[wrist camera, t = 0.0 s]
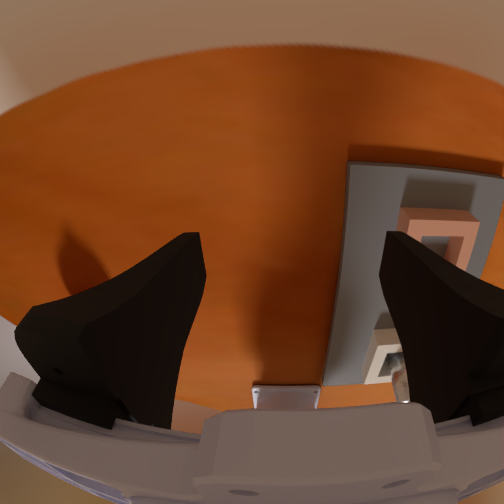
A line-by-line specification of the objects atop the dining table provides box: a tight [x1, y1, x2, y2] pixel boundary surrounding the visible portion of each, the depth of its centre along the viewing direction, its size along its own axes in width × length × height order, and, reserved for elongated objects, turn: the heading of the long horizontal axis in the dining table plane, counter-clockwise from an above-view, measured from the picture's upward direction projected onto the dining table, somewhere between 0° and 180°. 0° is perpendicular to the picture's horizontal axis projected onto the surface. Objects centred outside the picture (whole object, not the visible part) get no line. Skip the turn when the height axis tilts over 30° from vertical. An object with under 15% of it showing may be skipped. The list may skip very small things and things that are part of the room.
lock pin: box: [386, 352, 410, 402], centre depth 24 cm, size 2×2×6 cm
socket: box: [396, 207, 480, 271], centre depth 20 cm, size 6×6×2 cm
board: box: [322, 161, 504, 386], centre depth 24 cm, size 24×14×1 cm, turn 4°
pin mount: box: [361, 328, 403, 384], centre depth 26 cm, size 6×6×2 cm
